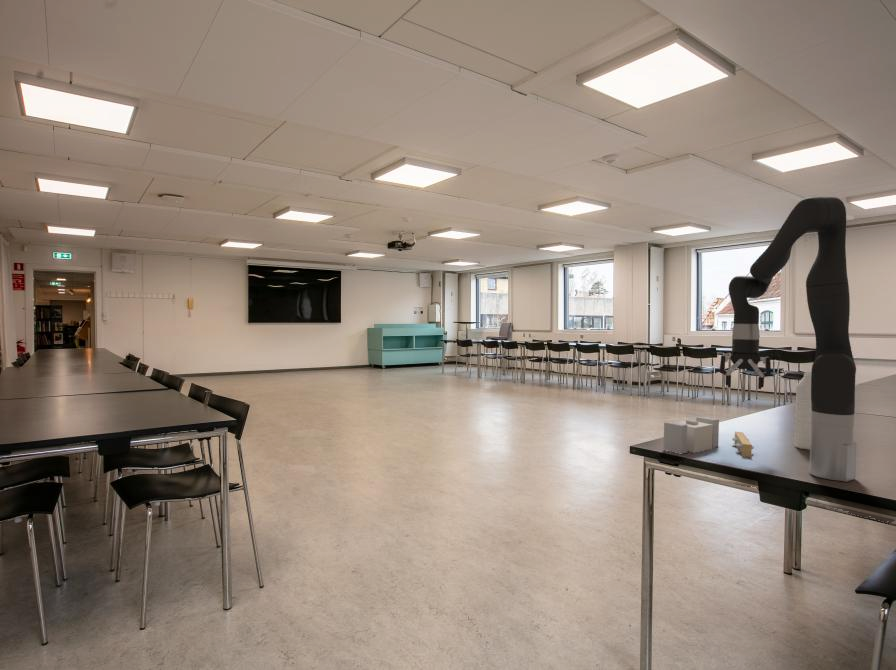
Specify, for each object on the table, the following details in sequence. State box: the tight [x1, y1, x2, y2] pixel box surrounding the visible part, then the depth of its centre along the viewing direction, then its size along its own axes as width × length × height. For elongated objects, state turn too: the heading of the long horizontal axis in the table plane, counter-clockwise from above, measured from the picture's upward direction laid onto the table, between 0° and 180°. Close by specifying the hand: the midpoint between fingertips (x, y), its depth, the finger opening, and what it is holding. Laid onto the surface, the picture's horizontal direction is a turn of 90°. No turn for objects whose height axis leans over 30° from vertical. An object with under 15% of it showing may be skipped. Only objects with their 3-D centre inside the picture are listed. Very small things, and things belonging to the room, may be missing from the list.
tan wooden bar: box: [732, 431, 754, 458], centre depth 166 cm, size 5×20×4 cm, turn 157°
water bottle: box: [793, 372, 811, 451], centre depth 169 cm, size 9×6×25 cm
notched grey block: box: [663, 416, 720, 455], centre depth 166 cm, size 8×21×9 cm, turn 123°
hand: (744, 388), depth 165 cm, fingers open, 8 cm apart
